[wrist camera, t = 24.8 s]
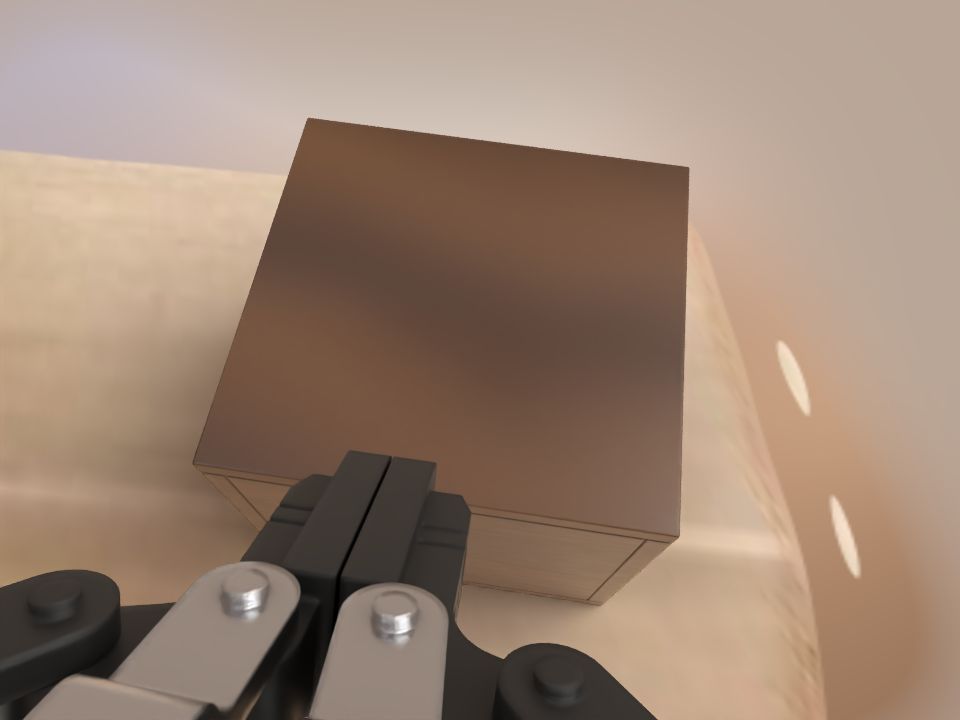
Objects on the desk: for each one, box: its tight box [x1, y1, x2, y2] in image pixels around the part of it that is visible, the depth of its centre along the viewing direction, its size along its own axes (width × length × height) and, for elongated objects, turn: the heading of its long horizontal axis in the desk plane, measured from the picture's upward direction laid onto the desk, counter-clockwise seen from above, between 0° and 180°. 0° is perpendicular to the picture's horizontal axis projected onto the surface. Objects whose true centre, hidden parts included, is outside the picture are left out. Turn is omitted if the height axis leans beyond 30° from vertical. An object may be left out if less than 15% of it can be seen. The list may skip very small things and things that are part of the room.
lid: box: [193, 118, 689, 543], centre depth 26 cm, size 14×15×1 cm
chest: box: [202, 472, 672, 605], centre depth 32 cm, size 14×15×13 cm
